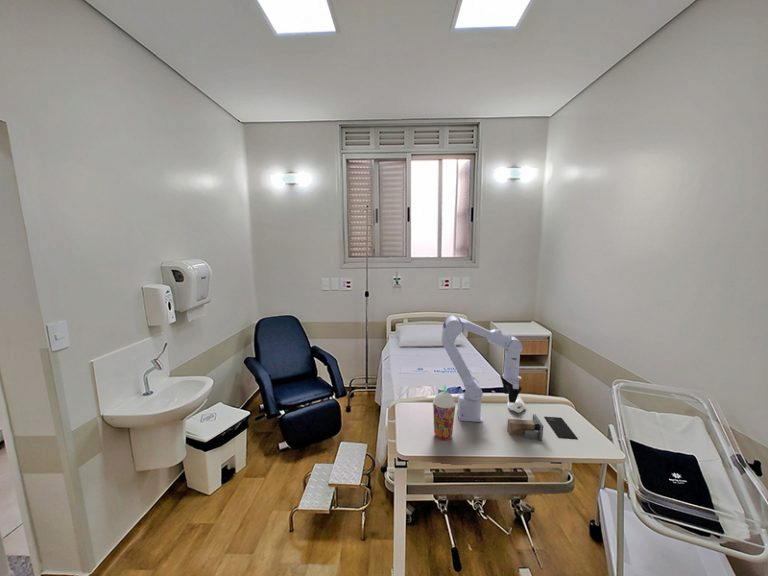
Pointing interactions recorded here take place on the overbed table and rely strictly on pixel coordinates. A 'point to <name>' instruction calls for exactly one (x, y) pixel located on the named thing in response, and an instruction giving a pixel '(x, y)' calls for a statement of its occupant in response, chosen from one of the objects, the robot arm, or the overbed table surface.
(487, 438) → the overbed table surface
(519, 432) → the brown rectangular block
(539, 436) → the bracket
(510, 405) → the baby figurine
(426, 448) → the overbed table surface
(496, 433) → the overbed table surface
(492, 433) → the overbed table surface
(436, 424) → the smoothie
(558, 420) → the smartphone
